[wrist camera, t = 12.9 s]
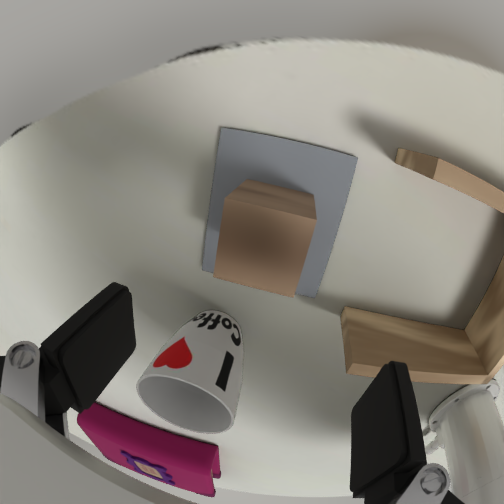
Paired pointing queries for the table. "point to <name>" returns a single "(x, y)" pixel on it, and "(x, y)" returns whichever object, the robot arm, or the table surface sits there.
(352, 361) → the oak u-shaped frame
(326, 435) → the table surface
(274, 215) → the block
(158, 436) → the book
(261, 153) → the mat
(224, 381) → the cup
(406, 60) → the table surface
